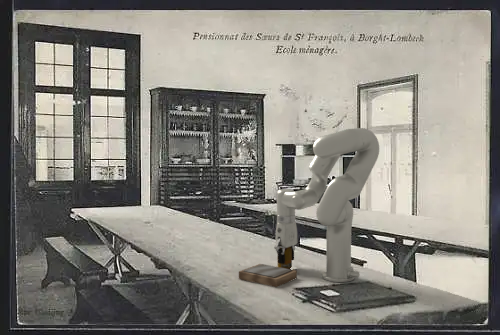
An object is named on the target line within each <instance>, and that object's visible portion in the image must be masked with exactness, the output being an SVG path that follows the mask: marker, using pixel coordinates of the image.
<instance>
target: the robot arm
mask: <svg viewBox="0 0 500 335" xmlns="http://www.w3.org/2000/svg"><path fill="white" fill-rule="evenodd" d="M312 151H313V154H314V156H313V159H312V160H311V162H310V164H309V167H308V169H309V170H310V173H311V175H312V176H311V179H310V181H309V182H308V184H307V186H306V188H304V189H301V190H296V191H294V189H290V188H283V189H278V190H277V191H276V230H275V244H274V247H273V248H274V250H275V251H276V254H277V256H278V257H277V258H278V259H277V261H278V262H277V264H278V263H281V264H285V254H284V251H285V248H288V247H292V261H294V260H295V251H296V248H295V247H296V245H297V244H298V227H297V223H296V210H297V211H299V210H304V209H307V208H310V207H314V206H315V205H316V204H317V203H318V202H319V203H318V206H317V207H316V212H315V213H316V218H317V220H318V222H319V224H320V225H323V226H324V227H327V228H326V239H325V240H326V244H325V246H326V252H325V253H326V258H325V259H326V262H325V263H326V265H325V266H326V267H325V268H326V270H325V272H322V278H323V279H324V280H326V281H329V282H333V283H346V282H352V281H354V280H355V279H356V278H357V279H358V278H360V271H357V270H354V267H353V266H352V226H353V219H354V207H353V204H352V203H351V202H350V201H351V200H353V199H356V198H358V197H359V196H360V195H361V194H362V191H363V189H364V187H365V186H366V183H367V181H368V179H369V177H370V174H371V173H372V170H373V169H374V167H375V165H376V163H377V161H378V158H379V154H380V142H379V140H378V138H377V136H376V134H375V133H374V132H373V131H371V130H370V129H368V128H366V127H365V128H364V127H358V128H357V127H355V128H347V129H344V130H340V131H336V132H333V133H329V134H326V135H322V136H320V137H318V138H317V139H316V140H315V141H314V142H313V145H312ZM354 152H356V153H355V154H354V156H353V157H352V159H351V160H350V162H349V164H348V166H347V168H346V170H345V173H344V174H342V175H339V176H337V177H335V178H332V180H331V181H330V182H329V183H328V180H329V178H328V177H329V175H330V173H331V172H332V170H333V168H334V167H335V165H336V164H337V163H338V162H337V161H338V160H339V158H340V157H341V155H344V154H349V153H354ZM327 184H328V185H327ZM280 245H282V246H280ZM280 248H282V250H281V249H280Z"/></svg>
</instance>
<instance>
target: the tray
mask: <svg viewBox="0 0 500 335" xmlns="http://www.w3.org/2000/svg"><path fill="white" fill-rule="evenodd" d="M297 271H298V270H291V269H285V268H280V267H276V265H269V264H264V263H258V264H256V265H252V266H251V267H248V268H245V269H242V270H239V271H238V279H239V280H241V281H247V282H250V283H255V284H259V285H265V286H269V287H273V288H274V287H275V288H278V287H280V286H282V285H285V284H287V283H290V282H292V281H294V280H296V279H298V278H297V277H298V272H297ZM295 278H296V279H295ZM293 279H294V280H293ZM291 280H292V281H291ZM289 281H290V282H289Z"/></svg>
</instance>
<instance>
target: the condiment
mask: <svg viewBox="0 0 500 335" xmlns="http://www.w3.org/2000/svg"><path fill="white" fill-rule="evenodd" d="M280 246H282V245H280ZM280 249H281V250H282V248H280ZM284 254H285V264H281V263H278V255H277V259H276V260H277V265H275V267H280V268H285V269H290V268H291V267H292V265H293V260H292V247H288V248H285V251H284Z"/></svg>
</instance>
